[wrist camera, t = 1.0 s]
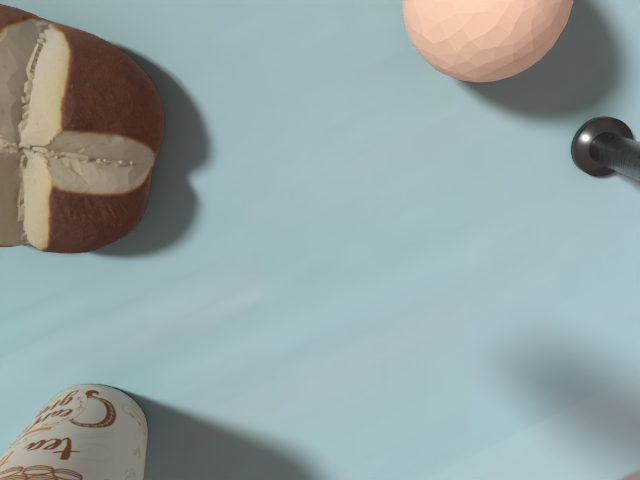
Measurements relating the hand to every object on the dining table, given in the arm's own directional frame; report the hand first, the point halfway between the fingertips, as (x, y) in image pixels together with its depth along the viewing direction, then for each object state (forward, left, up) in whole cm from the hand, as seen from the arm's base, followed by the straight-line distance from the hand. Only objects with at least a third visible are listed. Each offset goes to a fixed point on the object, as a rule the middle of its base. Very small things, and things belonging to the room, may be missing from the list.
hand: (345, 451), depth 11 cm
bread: (-2, -12, -21) cm, 24 cm away
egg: (-8, +8, -21) cm, 24 cm away
